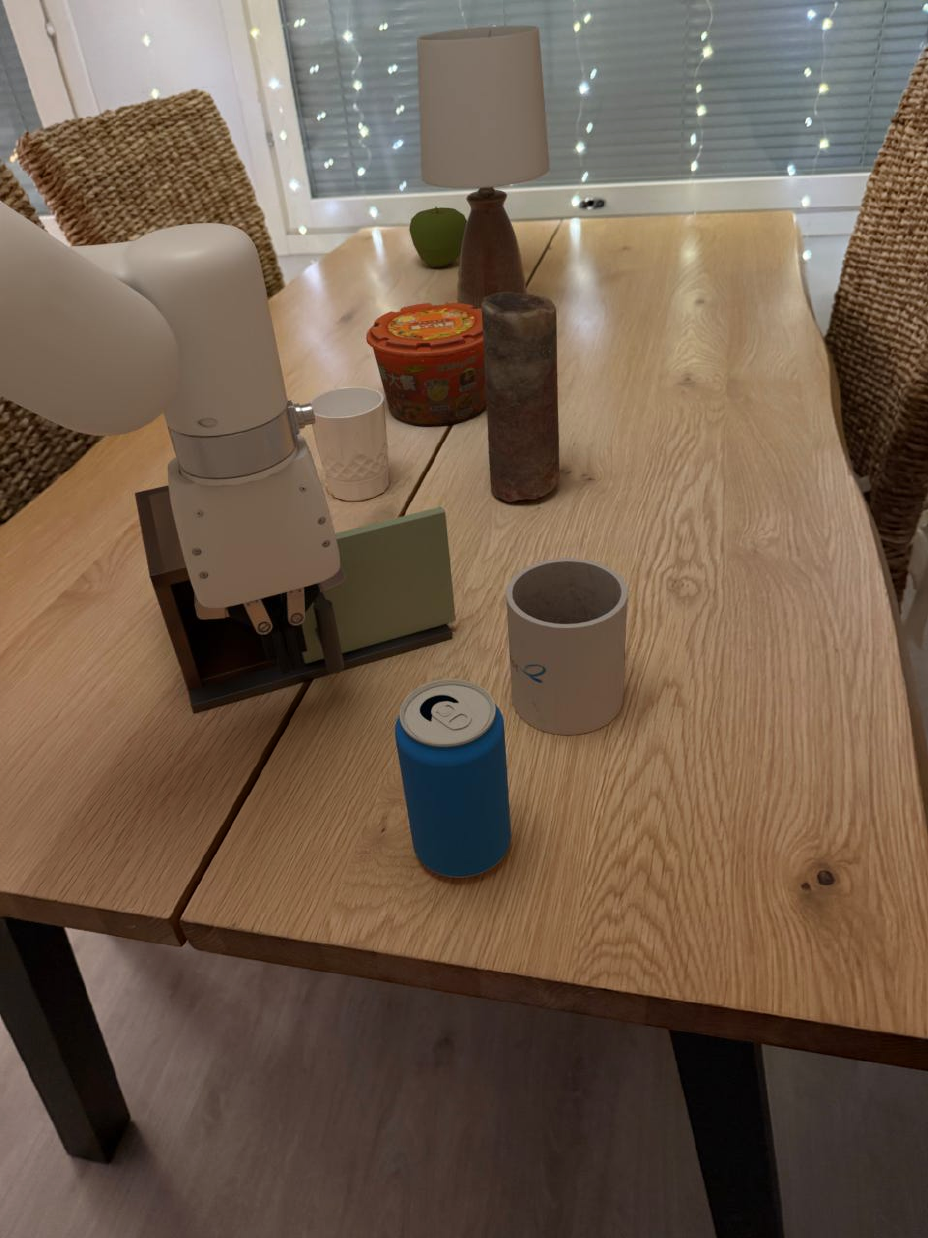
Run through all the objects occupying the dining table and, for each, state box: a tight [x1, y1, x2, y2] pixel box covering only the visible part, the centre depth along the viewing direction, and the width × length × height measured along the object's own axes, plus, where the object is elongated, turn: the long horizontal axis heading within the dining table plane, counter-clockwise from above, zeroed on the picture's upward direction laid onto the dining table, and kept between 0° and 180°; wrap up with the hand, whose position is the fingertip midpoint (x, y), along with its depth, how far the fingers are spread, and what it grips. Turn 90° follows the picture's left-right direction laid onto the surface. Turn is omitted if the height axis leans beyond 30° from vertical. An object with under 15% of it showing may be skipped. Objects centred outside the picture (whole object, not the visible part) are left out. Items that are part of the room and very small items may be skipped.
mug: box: [505, 557, 629, 736], centre depth 70 cm, size 12×9×10 cm
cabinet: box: [134, 484, 453, 714], centre depth 78 cm, size 22×16×12 cm
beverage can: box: [394, 678, 512, 878], centre depth 57 cm, size 6×6×12 cm
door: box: [302, 506, 457, 674], centre depth 72 cm, size 13×6×11 cm, turn 111°
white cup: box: [308, 385, 390, 502], centre depth 98 cm, size 8×8×10 cm
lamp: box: [416, 24, 550, 309], centre depth 135 cm, size 19×19×37 cm
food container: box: [365, 301, 487, 427], centre depth 114 cm, size 16×16×11 cm
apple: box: [408, 206, 468, 268], centre depth 164 cm, size 11×10×10 cm
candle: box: [481, 292, 560, 503], centre depth 92 cm, size 8×7×20 cm
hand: (288, 661), depth 69 cm, fingers closed
